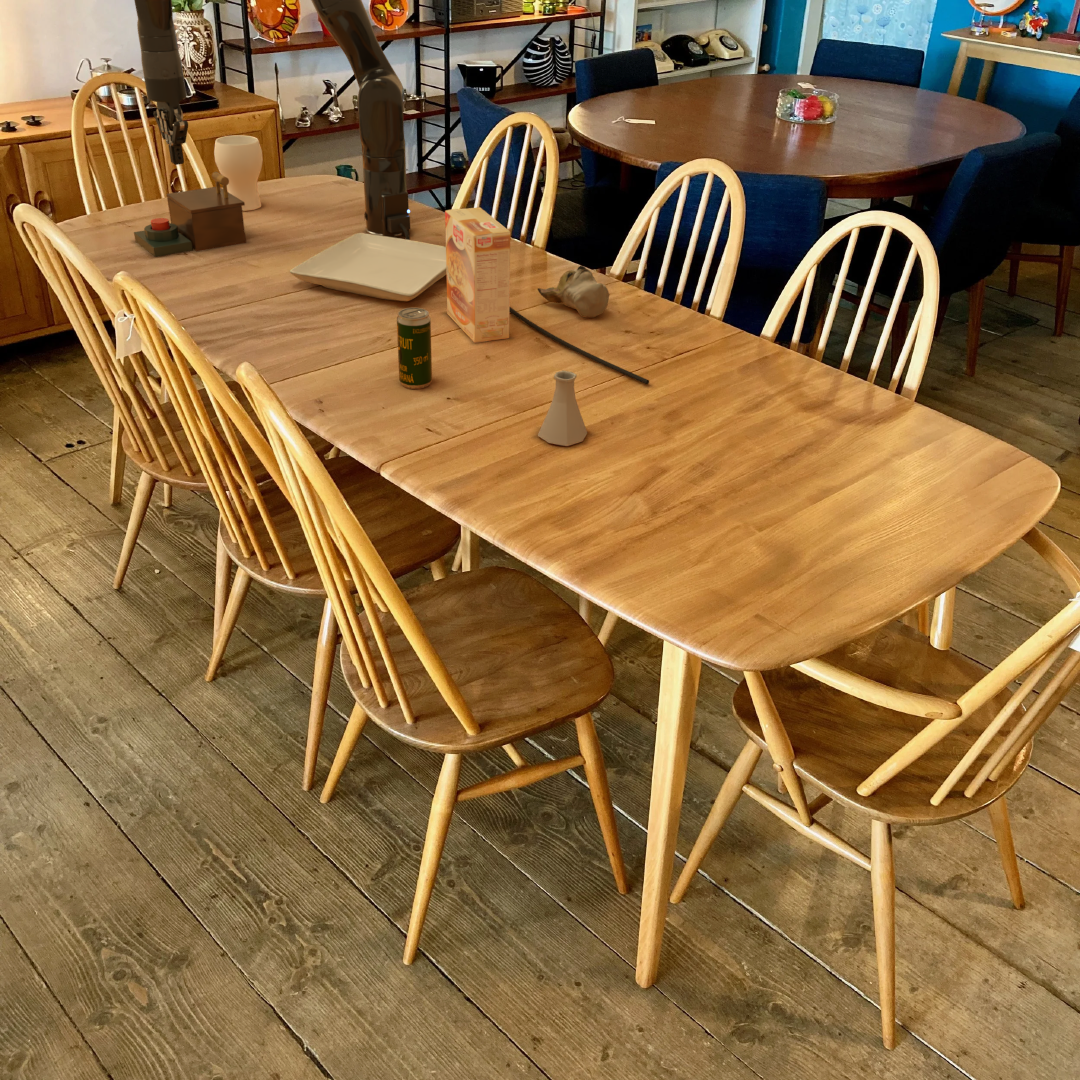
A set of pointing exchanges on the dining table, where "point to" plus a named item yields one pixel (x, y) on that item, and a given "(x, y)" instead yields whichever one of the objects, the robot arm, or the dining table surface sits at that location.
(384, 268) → the square plate
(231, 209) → the chest
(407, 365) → the green soda can
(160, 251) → the green button base
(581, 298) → the ceramic sculpture
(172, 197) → the chest lid
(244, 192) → the cup
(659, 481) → the dining table surface
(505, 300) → the coffeecake box
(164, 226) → the button
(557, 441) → the flask
